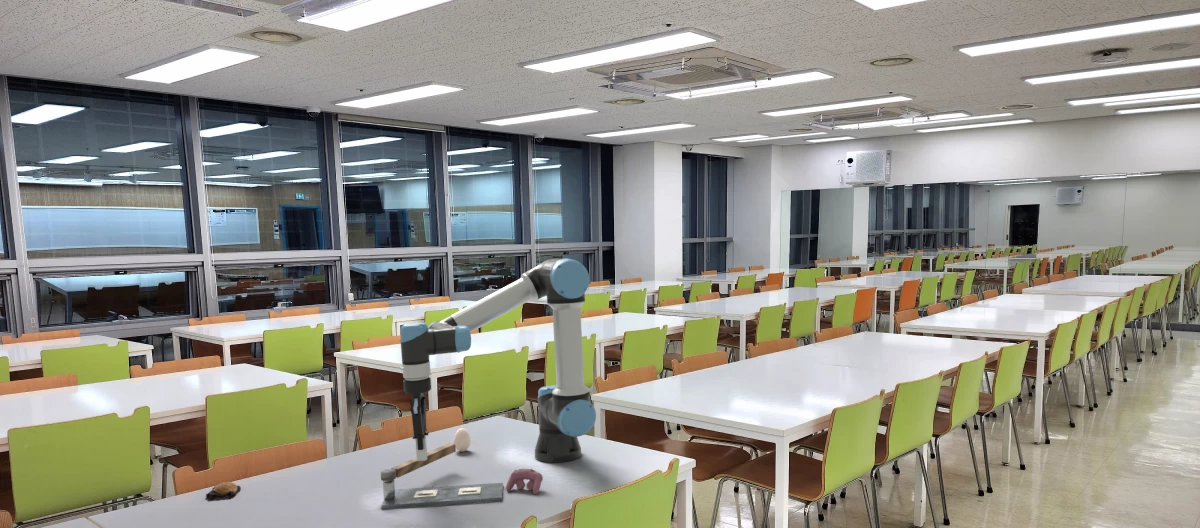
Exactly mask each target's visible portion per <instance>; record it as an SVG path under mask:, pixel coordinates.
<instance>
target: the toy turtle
mask: <svg viewBox="0 0 1200 528" xmlns="http://www.w3.org/2000/svg"><path fill="white" fill-rule="evenodd" d="M241 490H242V488H241V486H240V485H237V484H235V483H233V482H231V481H224V482H220V483H218V484H217V485H215V486H214V487H212V490H210V491H209V492H208V493H206V494H205V497H206V502H217V501H227V500H232V499H234V498H236V497H237V495H238V493H239V492H240V491H241Z"/></svg>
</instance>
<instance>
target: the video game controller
mask: <svg viewBox="0 0 1200 528" xmlns="http://www.w3.org/2000/svg"><path fill="white" fill-rule="evenodd" d="M543 479H544V477H543V475H542V473H540V472H539V471H538V470H534V469H532V468H520V469H514V470H513V472H511V473H510V475H509V478H508V481H507V483H506V485H505V490H506V492H507V493H508V492H511V490H512V489H513V488H514V486H516V488H517V489H518V490H523V489H525V486H526V489H527V490H529V491H532V492H533V494H534V495H537V494H538V493H539V491H540V488H541V484H542V482H543ZM524 480H529V481H528V482H527V483H525V481H524Z"/></svg>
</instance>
